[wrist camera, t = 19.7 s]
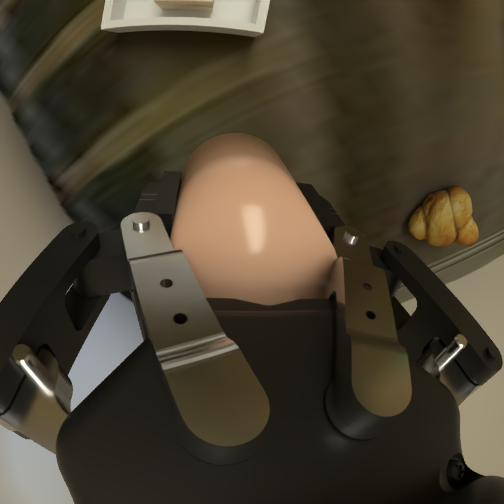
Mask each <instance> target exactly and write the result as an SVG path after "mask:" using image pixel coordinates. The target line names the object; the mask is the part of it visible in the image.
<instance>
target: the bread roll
mask: <svg viewBox="0 0 504 504" xmlns="http://www.w3.org/2000/svg"><path fill="white" fill-rule="evenodd" d="M471 215H472V203H471V199H470V196H469V195H468V194H467V192H466V191H465V190H464V189H462V188H460V187H458V186H451V187H449V188H448V189H447V190H440V191H437V192H435V193H432V194H429V196H428V197H427V198H426V199H425V201H424V203H423V205H422V206H420V207H419V208H417V209H416V210H415V212H414V213H413V215H412V216H411V218H410V220H409V224H408V228H409V231H410V233H411V234H412V235H413V236H414V237H415V238H417V239H419V240H422V239H426V240H427V242H428V243H429V244H431V245H433V246H442V247H443V246H449V245H450V244H451V243H453V242H455V243H456V244H458V245H461V246H472V245H473V244H474V243H475V242H476V241H477V239H478V236H479V232H478V227H477V225H476V223H475V221H474V220H473V218H472V217H471Z"/></svg>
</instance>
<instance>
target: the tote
mask: <svg viewBox="0 0 504 504" xmlns="http://www.w3.org/2000/svg"><path fill="white" fill-rule="evenodd" d="M269 3H270V0H215V1H214V6H213V11H195V10H162V9H161V8H160V7H159V6H158V5H157V4H156V3H155V2H154V0H106V2H105V7H104V12H103V18H102V25H101V29H102V30H107V31H111V32H115V33H121V32H134V31H160V30H176V31H202V32H215V33H225V34H234V35H242V36H249V37H257V36H259V35H261V34H263V33H264V28H265V23H266V18H267V13H268V8H269Z"/></svg>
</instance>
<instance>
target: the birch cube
mask: <svg viewBox="0 0 504 504" xmlns="http://www.w3.org/2000/svg"><path fill="white" fill-rule="evenodd" d="M214 1H215V0H154V2H155V3H156V4H157V5H158V6H159V7H160V8H161V9H162V10H195V11H213V6H214Z"/></svg>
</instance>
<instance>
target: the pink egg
mask: <svg viewBox="0 0 504 504" xmlns="http://www.w3.org/2000/svg"><path fill="white" fill-rule="evenodd" d="M170 241H171V243H172V246H173V248H174V250H178V249H181V250H182V251H183V253H184V255H185V257H186V259H187V261H188V263H189V265H190V267H191V269H192V271H193V273H194V275H195V277H196V279H197V281H198V283H199V285H200V287H201V289H202V291H203V293H204V295H205V297H206V298H234V299H238V300H243V301H248V302H253V303H258V304H262V305H276V304H280V303H285V302H289V301H293V300H298V299H321V297H322V295H323V293H324V291H325V288H326V286H327V284H328V281H329V277H330V271H331V269H332V266H333V264H334V262H335V259H337V255H336V252H335V249H334V247H333V245H332V243H331V242H330V240H329V238H328V236H327V234H326V233H325V231H324V229H323V227H322V226H321V224H320V222H319V221H318V219H317V217H316V215H315V214H314V212H313V210H312V209H311V207H310V205H309V204H308V202H307V200H306V199H305V197H304V195H303V194H302V192H301V190H300V189H299V187H298V186H297V184H296V182H295V181H294V179H293V178H292V176H291V174H290V173H289V171H288V170H287V168H286V167H285V165H284V163H283V162H282V160H281V159H280V157H279V156H278V154H277V153H276V152H275V150H274V149H273V148H272V147H271V146H270V145H269V144H267V143H266V142H264V141H263V140H261V139H259V138H257V137H255V136H251V135H248V134H242V133H228V134H223V135H219V136H216V137H213V138H211V139H209V140H207V141H205V142H204V143H202V144H201V145H200V146H199V147H197V148H196V149H195V150H194V151H193V153H192V154H191V155H190V157H189V158H188V160H187V162H186V164H185V166H184V169H183V173H182V177H181V184H180V189H179V194H178V199H177V205H176V210H175V216H174V221H173V227H172V232H171V236H170Z"/></svg>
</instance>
